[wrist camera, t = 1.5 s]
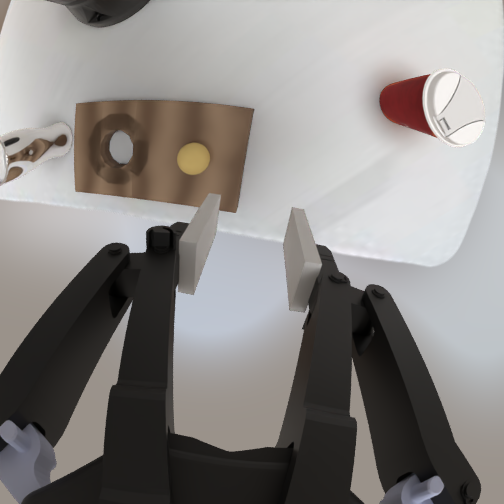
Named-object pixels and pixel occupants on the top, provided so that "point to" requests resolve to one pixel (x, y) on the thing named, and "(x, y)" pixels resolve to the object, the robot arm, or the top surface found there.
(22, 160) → the beer glass
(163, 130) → the board
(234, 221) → the top surface
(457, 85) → the coffee cup
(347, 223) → the top surface
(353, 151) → the top surface
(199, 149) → the ball
